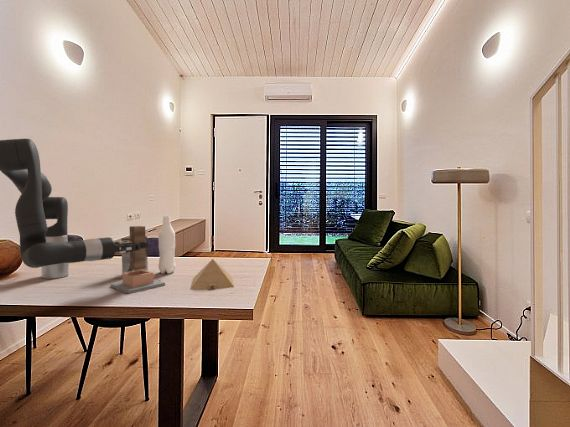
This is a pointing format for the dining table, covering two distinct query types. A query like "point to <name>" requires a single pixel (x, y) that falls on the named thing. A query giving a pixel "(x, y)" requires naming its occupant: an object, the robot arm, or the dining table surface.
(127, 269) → the coffee box
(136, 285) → the end cap socket
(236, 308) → the dining table surface
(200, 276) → the model pyramid
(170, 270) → the water bottle
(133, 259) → the walnut slat
